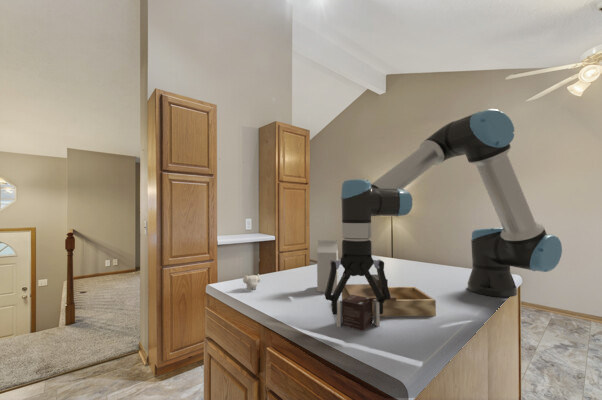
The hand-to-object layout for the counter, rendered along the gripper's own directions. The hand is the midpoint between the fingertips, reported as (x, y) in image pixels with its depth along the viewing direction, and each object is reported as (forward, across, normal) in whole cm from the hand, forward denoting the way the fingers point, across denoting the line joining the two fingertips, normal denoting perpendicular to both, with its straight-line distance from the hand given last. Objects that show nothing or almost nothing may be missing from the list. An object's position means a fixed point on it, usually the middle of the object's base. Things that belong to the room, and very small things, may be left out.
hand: (357, 326), depth 74 cm
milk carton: (0, +4, -33) cm, 33 cm away
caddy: (0, -11, -13) cm, 17 cm away
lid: (-5, -6, -13) cm, 15 cm away
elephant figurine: (+1, +33, -37) cm, 50 cm away
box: (+1, 0, 0) cm, 1 cm away
